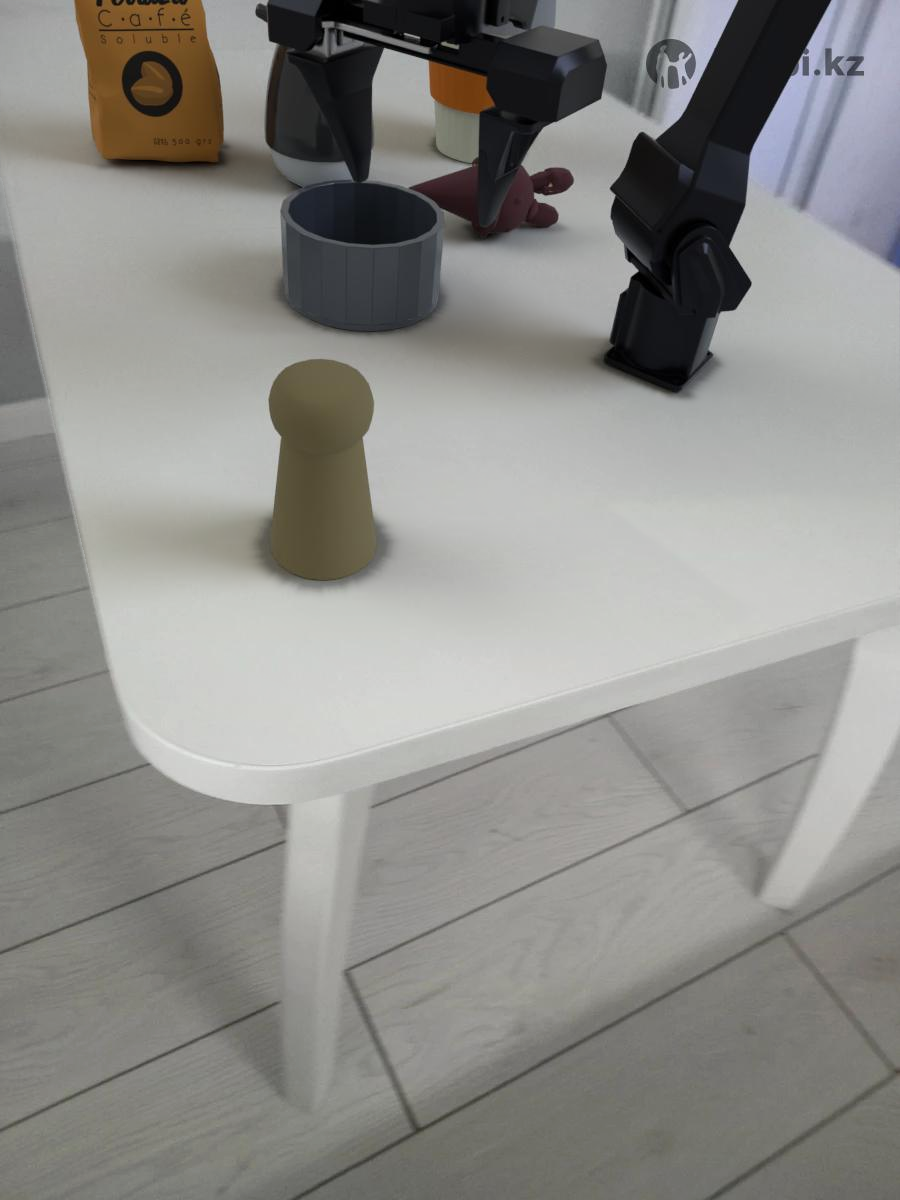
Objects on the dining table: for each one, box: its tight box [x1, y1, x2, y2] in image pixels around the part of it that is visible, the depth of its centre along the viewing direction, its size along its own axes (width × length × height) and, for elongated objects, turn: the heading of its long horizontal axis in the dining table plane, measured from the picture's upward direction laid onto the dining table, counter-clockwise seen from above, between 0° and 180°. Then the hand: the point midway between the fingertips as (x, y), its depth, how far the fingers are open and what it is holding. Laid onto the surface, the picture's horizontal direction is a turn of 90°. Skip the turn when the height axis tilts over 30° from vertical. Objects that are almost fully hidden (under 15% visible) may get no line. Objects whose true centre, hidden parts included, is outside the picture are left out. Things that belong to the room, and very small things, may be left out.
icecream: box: [407, 157, 575, 239], centre depth 81 cm, size 7×7×15 cm
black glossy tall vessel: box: [254, 2, 375, 188], centre depth 83 cm, size 10×10×15 cm
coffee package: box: [73, 0, 225, 163], centre depth 82 cm, size 10×12×22 cm
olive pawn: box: [267, 358, 378, 581], centre depth 48 cm, size 6×6×11 cm
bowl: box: [279, 179, 445, 332], centre depth 71 cm, size 12×12×6 cm
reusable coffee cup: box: [428, 0, 557, 164], centre depth 93 cm, size 13×13×15 cm
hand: (422, 202), depth 56 cm, fingers open, 9 cm apart
